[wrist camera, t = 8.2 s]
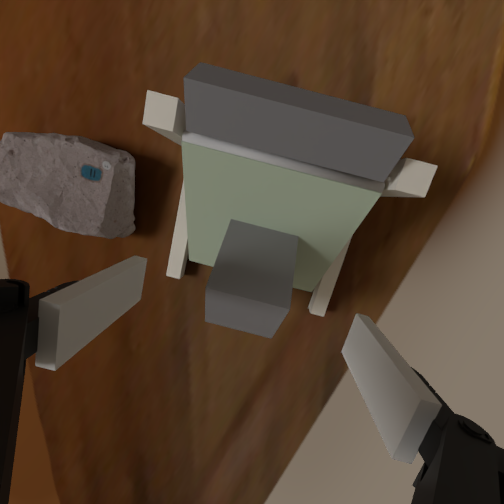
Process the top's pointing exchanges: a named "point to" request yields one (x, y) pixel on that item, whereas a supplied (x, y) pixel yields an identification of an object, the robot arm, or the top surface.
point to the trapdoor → (282, 164)
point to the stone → (69, 182)
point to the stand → (172, 126)
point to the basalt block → (252, 279)
